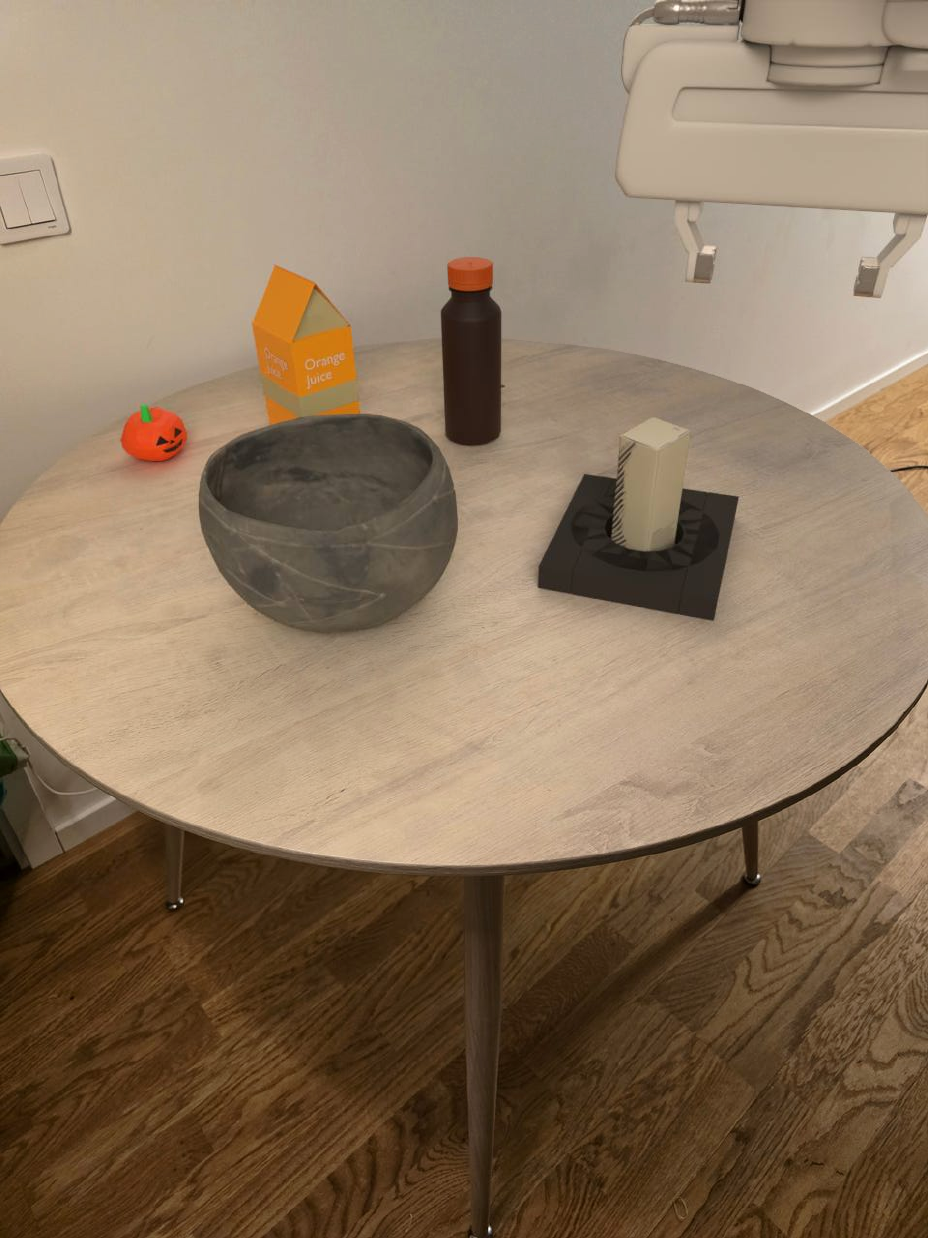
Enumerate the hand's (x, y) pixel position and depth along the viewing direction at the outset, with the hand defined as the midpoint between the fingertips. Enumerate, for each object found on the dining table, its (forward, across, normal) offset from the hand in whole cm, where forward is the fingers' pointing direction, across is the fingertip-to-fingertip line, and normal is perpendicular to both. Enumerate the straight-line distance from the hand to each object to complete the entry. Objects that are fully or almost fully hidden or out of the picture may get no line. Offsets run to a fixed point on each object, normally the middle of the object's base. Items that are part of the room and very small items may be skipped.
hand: (780, 287), depth 51 cm
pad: (+31, -8, +17) cm, 36 cm away
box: (+31, -8, +17) cm, 36 cm away
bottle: (+31, -32, +36) cm, 57 cm away
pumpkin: (+31, -66, +20) cm, 76 cm away
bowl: (+31, -32, 0) cm, 45 cm away
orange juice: (+31, -49, +28) cm, 65 cm away
